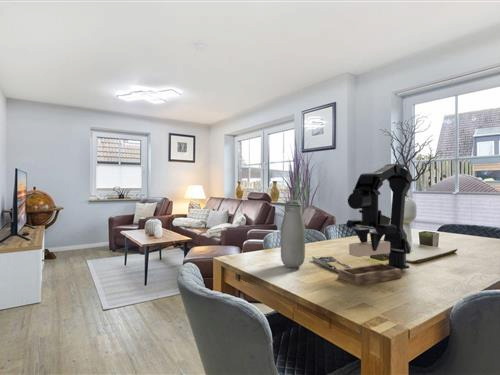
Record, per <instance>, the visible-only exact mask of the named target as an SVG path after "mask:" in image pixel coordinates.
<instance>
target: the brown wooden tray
mask: <svg viewBox="0 0 500 375" xmlns="http://www.w3.org/2000/svg"><path fill="white" fill-rule="evenodd" d="M401 269H402V268H401ZM401 269H398V268H394V267H391V266H388V265H386V264H384V263H380V262H379V263H372V264H367V265H361V266H355V267H350V268H346V267H345V268H342V269H340V268H339V269H338V270H339V272H338V274H337V278H338V279H340V280H343V281H345V282H348V283H350V284H352V285H354V286H358V287H360V286H361V287H362V286H365V285H370V284H375V283H376V284H377V283H380V282H385V281H390V280H391V281H392V280H396V279H397V280H398V279H402V274H401V272H402V270H401Z"/></svg>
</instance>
